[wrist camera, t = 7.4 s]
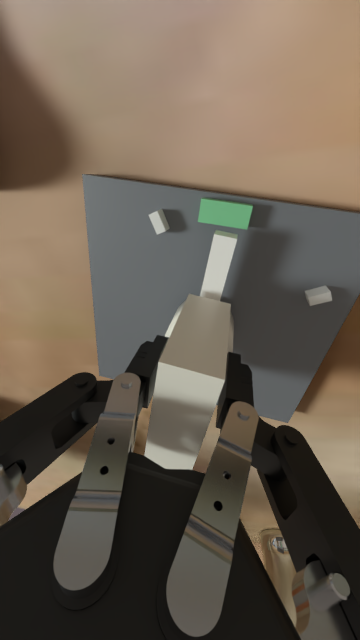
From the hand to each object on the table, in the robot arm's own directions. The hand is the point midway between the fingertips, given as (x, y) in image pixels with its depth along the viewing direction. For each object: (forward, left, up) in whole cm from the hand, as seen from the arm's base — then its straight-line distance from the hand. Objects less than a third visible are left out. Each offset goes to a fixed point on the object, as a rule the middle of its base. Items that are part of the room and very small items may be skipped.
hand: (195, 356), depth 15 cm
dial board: (0, 0, -6) cm, 6 cm away
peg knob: (+2, 0, -4) cm, 4 cm away
